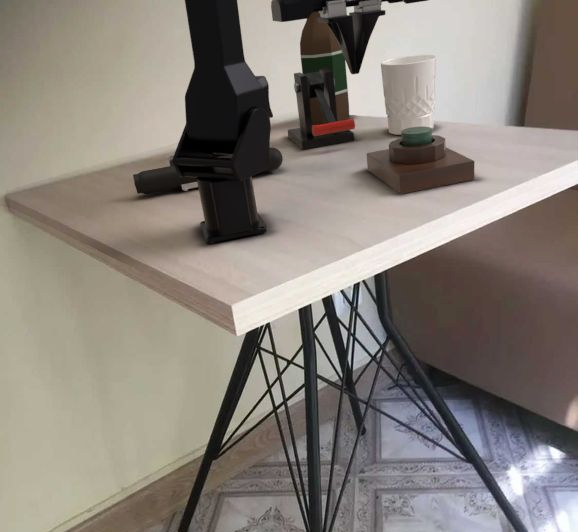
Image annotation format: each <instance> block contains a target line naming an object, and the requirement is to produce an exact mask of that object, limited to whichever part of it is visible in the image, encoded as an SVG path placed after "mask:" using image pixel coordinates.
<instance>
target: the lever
mask: <svg viewBox="0 0 578 532" xmlns="http://www.w3.org/2000/svg"><path fill="white" fill-rule="evenodd" d="M305 75H307V82H308V91H309V98H316V101H317V103H318V105H319V108H320V110H321V112H322V114H323V117H324V119H325V121H326V123H325V124H320V125H318V124H313V125H314V126H312V133H313V136H318V135H324V134H329V133H335V132H340V131H346V130H350V131H352V130H355V128H356V122H355V119H354V118H349V119H347V120H342V121H335V118H334V116H333V114H332V112H331V109H330V107H329V105H328V103H327V101H326V98H325V96H324V81H323V79H322V77H321V74H320V72H319V71H318V72H312V73H306V74H305Z"/></svg>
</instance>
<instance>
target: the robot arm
mask: <svg viewBox="0 0 578 532" xmlns="http://www.w3.org/2000/svg"><path fill="white" fill-rule="evenodd" d="M427 1H429V0H271V3H270V9H271V10H270V11H271V17H272V18H271V19H272V21H273V22H279V23H286V22H287V23H288V22H293V21H301V20H307V18H309V16H310V15H311V14H312V12H318V11H319V13H320V17H318V18H317V19H318V22H322V23H326V24H327V25H328V26H329V28H330V29H331V30H332V32H333V34H334V36H335V37H336V39H337V41H338V43H339V46H340V48H341V51H342V53H343V55H344V58H345V64H346V65H347V68H348V70H349V72H350V75H358V74H360V72H361V68H362V65H363V61H364V59H365V55H366V51H367V48H368V45H369V42H370V38H371V36H372V34H373V31H374V30H375V27H376V24H377V22H378V20H379V18H380V17H381V16H385V15H386V10H385V9H382V3H384V2H387V3H388V4H397V3H402V2H403V3H404V4H406V5H407V4H415V3H421V2H427ZM184 5H185V12H186V17H187V24H188V30H189V37H190V44H191V50H192V56H193V66H194V67H193V71H192V74H191V77H190V79H189V82H188V85H187V88H186V91H185V93H184V107H185V108H184V109H185V110H184V111H185V124H184V128H183V129H182V133H181V136H180V138H179V141H178V143H177V146H176V148H175V150H174V154H173V155H172V156H173V159H172V163H173V165H174V167H175V169H176V171H177V173H178V175H179V177H196V178H197V183H198V187H197V188H198V193H199V199H200V204H201V208H202V214H203V219H204V220H202V221H200V223H199V224H200V228H201V230H202V233H203V237H204V240H205V242H206V243H207V244H212V243H213V244H214V243H218V242H223V241H227V240H233V239H239V238H242V237H248V236H253V235H257V234H258V235H259V234H263V233H266V232H268V228H267V225H266V223H265V222H264V220H263V219H262V217H261V216H260V213H259V212H258V208H257V202H256V195H255V189H254V183H253V182H254V181H253V177H254V176H256V175H258V174H260V172H261V173H263V172H262V171H264V170H266V169H268V160H269V147H270V143H271V131H272V130H271V129H272V124H271V118H274V114H273V111H272V109H271V104H270V103H271V102H270V88H269V87H270V85H269V82H268V80H267V78H266V76H265V75H255V74H254V72H253V71H252V68H250V66H249V65H248V63H247V61H246V58H245V53H244V45H243V44H244V43H243V37H242V28H241V21H240V12H239V11H240V10H239V5H238V0H184ZM351 7H353V11H351V12H347V8H351ZM212 154H222V155H232V158H217V157H212Z"/></svg>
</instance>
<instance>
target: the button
mask: <svg viewBox="0 0 578 532" xmlns="http://www.w3.org/2000/svg"><path fill="white" fill-rule="evenodd" d="M432 135H433V129H432V128H430V127H411V128H407V129H404V130H402V131H401V135H400V138H401V142H402V146H421V145H427V144H430V143H432Z"/></svg>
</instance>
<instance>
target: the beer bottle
mask: <svg viewBox="0 0 578 532" xmlns="http://www.w3.org/2000/svg"><path fill="white" fill-rule="evenodd" d="M318 17H320V13H319V11H318V12H312V14H311V15H310V16H309V18H307V19H306V21H305V23H304V25H303V28H302V31H301V34H300V42H299V53H300V54H299V55H300V63H301V73H302V74H304V75H305V74H306V73H312V72H318V71H319V69H323V68H326V69H329V70H331V71H333V75H334V80H335V97H336V108H337V119H338V121H342V120H348V119H350V100H349V89H348V78H347V66H346V65H347V63H346V60H345V58H344V55H343V53H342V51H341V48H340V46H339V43H338V41H337V39H336V37H335V36H334V34H333V32H332V30H331V29H330V28H329V26H328V25H327V24H326V23H322V22H318V19H317V18H318ZM319 72H320V71H319ZM309 100H310V109H311V118H312V125H318V124H323V123H325V121H324V117H323V114H322V112H321V110H320V108H319V105H318V103H317V101H316V98H309Z"/></svg>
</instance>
